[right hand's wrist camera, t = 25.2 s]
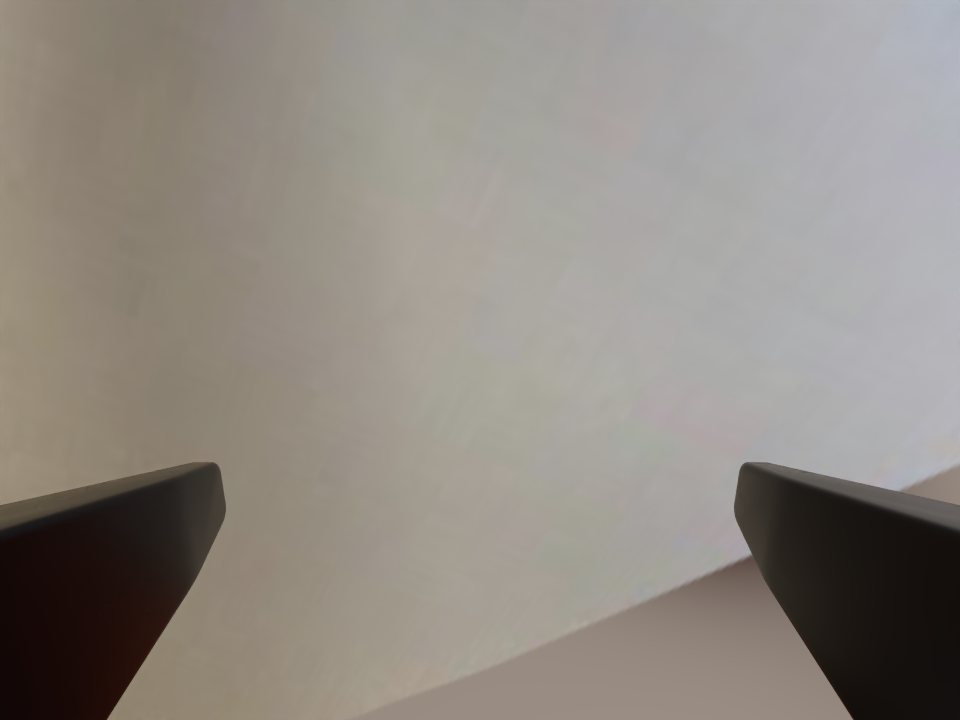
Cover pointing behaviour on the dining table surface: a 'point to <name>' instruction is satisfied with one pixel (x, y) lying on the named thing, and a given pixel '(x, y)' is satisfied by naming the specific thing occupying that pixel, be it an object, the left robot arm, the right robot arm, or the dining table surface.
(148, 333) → the dining table surface
